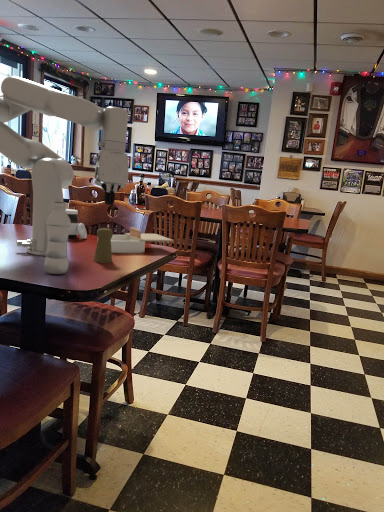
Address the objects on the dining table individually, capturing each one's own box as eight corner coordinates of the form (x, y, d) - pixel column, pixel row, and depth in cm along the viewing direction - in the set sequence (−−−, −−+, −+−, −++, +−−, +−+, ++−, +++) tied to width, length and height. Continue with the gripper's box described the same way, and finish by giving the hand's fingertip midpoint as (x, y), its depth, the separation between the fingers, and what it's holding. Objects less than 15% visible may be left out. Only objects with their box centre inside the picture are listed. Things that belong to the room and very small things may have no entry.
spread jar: (57, 234, 174) (58, 207, 172) (83, 235, 179) (85, 209, 177) (60, 239, 164) (62, 211, 161) (88, 240, 169) (90, 213, 166)
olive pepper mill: (115, 261, 135) (118, 229, 133) (103, 263, 130) (105, 230, 128) (102, 258, 138) (104, 226, 136) (89, 260, 133) (91, 227, 131)
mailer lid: (140, 241, 153) (141, 231, 153) (125, 234, 165) (125, 225, 164) (172, 241, 161) (173, 232, 160) (155, 235, 173) (156, 226, 172)
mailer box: (110, 253, 148) (111, 241, 147) (97, 245, 159) (97, 234, 158) (144, 252, 155) (145, 241, 155) (129, 245, 167) (130, 235, 166)
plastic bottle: (43, 276, 108) (46, 202, 104) (44, 270, 114) (47, 200, 111) (68, 277, 110) (71, 204, 106) (68, 271, 116) (71, 202, 112)
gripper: (96, 144, 122) (91, 204, 125) (139, 151, 131) (134, 207, 134) (86, 144, 128) (83, 201, 131) (128, 150, 137) (124, 204, 140)
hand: (109, 204), depth 133 cm, fingers closed
